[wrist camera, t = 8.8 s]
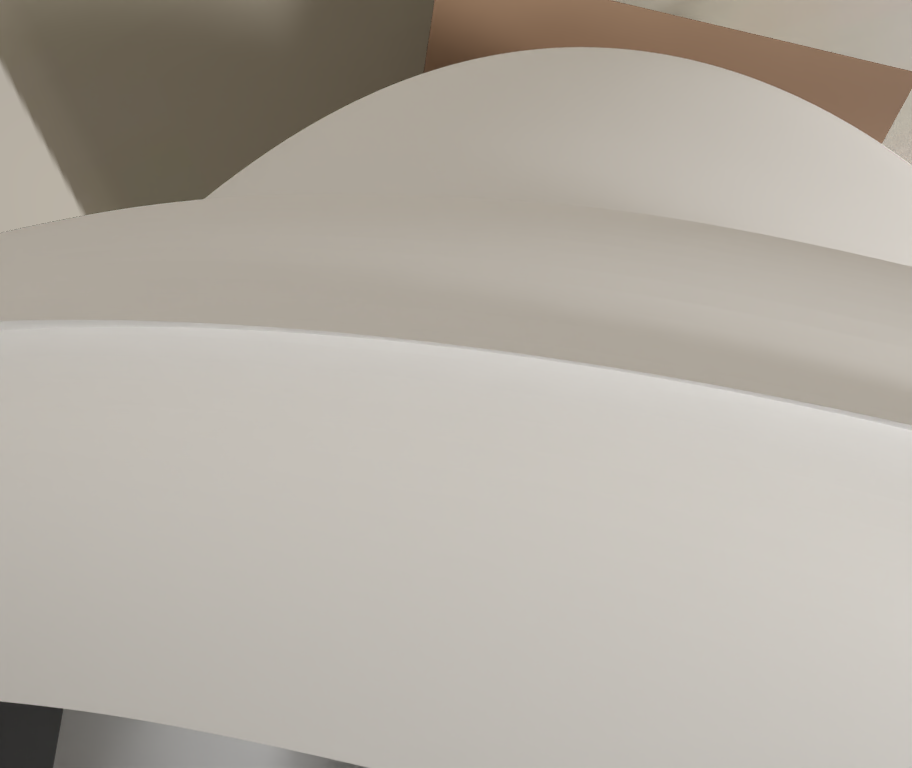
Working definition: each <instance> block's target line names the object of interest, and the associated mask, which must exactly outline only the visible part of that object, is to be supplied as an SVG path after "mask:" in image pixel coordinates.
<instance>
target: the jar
mask: <svg viewBox="0 0 912 768" xmlns="http://www.w3.org/2000/svg"><path fill="white" fill-rule="evenodd" d="M0 701H1V702H11V703H20V704H30V705H38V706H47V707H55V708H63V714H62V720H61V725H60V731H59V737H58V743H57V748H56V754H55V760H54V765H53V768H912V165H911V164H910V163H908V162H907V161H906V160H904V159H903V158H901V157H900V156H899V155H897V154H896V153H894V152H893V151H891V150H890V149H888V148H887V147H885V146H884V145H882V144H881V143H879V142H878V141H876V140H875V139H873V138H872V137H870V136H869V135H867V134H865V133H864V132H862V131H861V130H859V129H857V128H856V127H854V126H852V125H851V124H849V123H847V122H845V121H844V120H842V119H840V118H838V117H836V116H835V115H833V114H831V113H829V112H827V111H825V110H823V109H822V108H820V107H818V106H816V105H814V104H812V103H810V102H808V101H806V100H803V99H801V98H799V97H797V96H795V95H793V94H791V93H788V92H786V91H784V90H781V89H779V88H777V87H774V86H772V85H769V84H767V83H764V82H762V81H759V80H756V79H754V78H751V77H748V76H745V75H742V74H739V73H736V72H733V71H730V70H727V69H724V68H720V67H717V66H713V65H710V64H706V63H702V62H698V61H694V60H690V59H685V58H680V57H675V56H670V55H665V54H659V53H652V52H645V51H637V50H628V49H616V48H598V47H565V48H546V49H535V50H525V51H517V52H510V53H504V54H498V55H492V56H487V57H482V58H477V59H473V60H469V61H464V62H460V63H457V64H453V65H449V66H446V67H442V68H439V69H436V70H432V71H429V72H426V73H423V74H420V75H417V76H414V77H411V78H409V79H406V80H403V81H401V82H398V83H396V84H393V85H391V86H388V87H386V88H383V89H381V90H379V91H376V92H374V93H372V94H370V95H367V96H365V97H363V98H361V99H359V100H357V101H355V102H352V103H350V104H348V105H346V106H344V107H343V108H341V109H339V110H337V111H335V112H333V113H331V114H329V115H327V116H326V117H324V118H322V119H320V120H318V121H317V122H315V123H313V124H311V125H310V126H308V127H306V128H305V129H303V130H301V131H300V132H298V133H296V134H295V135H293V136H291V137H290V138H288V139H287V140H285V141H284V142H282V143H280V144H279V145H277V146H276V147H274V148H273V149H271V150H270V151H268V152H267V153H265V154H264V155H262V156H261V157H259V158H258V159H257V160H255V161H254V162H252V163H251V164H250V165H248V166H247V167H245V168H244V169H243V170H241V171H240V172H238V173H237V174H236V175H234V176H233V177H232V178H230V179H229V180H228V181H226V182H225V183H224V184H222V185H221V186H220V187H218V188H217V189H216V190H215V191H213V192H212V193H211V194H210V195H208V196H207V197H206V198H204V199H201V200H190V201H181V202H172V203H163V204H155V205H147V206H139V207H132V208H126V209H119V210H113V211H107V212H101V213H95V214H90V215H84V216H79V217H73V218H69V219H63V220H59V221H53V222H48V223H43V224H39V225H34V226H29V227H24V228H20V229H15V230H11V231H6V232H2V233H0Z"/></svg>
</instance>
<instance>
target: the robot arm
mask: <svg viewBox="0 0 912 768" xmlns="http://www.w3.org/2000/svg"><path fill="white" fill-rule="evenodd" d="M62 714H63V708H55V707H47V706H38V705H30V704H20V703H11V702H1V701H0V768H53V765H54V760H55V754H56V748H57V743H58V737H59V731H60V725H61V720H62Z"/></svg>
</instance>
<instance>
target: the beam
mask: <svg viewBox="0 0 912 768" xmlns="http://www.w3.org/2000/svg"><path fill="white" fill-rule="evenodd" d="M565 47H598V48H616V49H628V50H637V51H645V52H652V53H659V54H665V55H670V56H675V57H680V58H685V59H690V60H694V61H698V62H702V63H706V64H710V65H713V66H717V67H720V68H724V69H727V70H730V71H733V72H736V73H739V74H742V75H745V76H748V77H751V78H754V79H756V80H759V81H762V82H764V83H767V84H769V85H772V86H774V87H777V88H779V89H781V90H784V91H786V92H788V93H791V94H793V95H795V96H797V97H799V98H801V99H803V100H806V101H808V102H810V103H812V104H814V105H816V106H818V107H820V108H822V109H823V110H825V111H827V112H829V113H831V114H833V115H835V116H836V117H838V118H840V119H842V120H844V121H845V122H847V123H849V124H851V125H852V126H854V127H856V128H857V129H859V130H861V131H862V132H864V133H865V134H867V135H869V136H870V137H872V138H873V139H875V140H876V141H878V142H879V143H881V144H882V142H883V140H884V139H885V137H886V135H887V133H888V131H889V129H890V128H891V126H892V124H893V122H894V120H895V118H896V117H897V115H898V113H899V111H900V109H901V107H902V106H903V104H904V102H905V100H906V98H907V97H908V95H909V93H910V91H911V89H912V71H908V70H904V69H900V68H895V67H891V66H887V65H883V64H878V63H874V62H870V61H866V60H862V59H857V58H853V57H849V56H845V55H840V54H836V53H832V52H828V51H823V50H819V49H815V48H811V47H806V46H802V45H798V44H794V43H789V42H785V41H781V40H777V39H773V38H768V37H764V36H760V35H756V34H751V33H747V32H743V31H739V30H734V29H730V28H726V27H722V26H717V25H713V24H709V23H705V22H700V21H696V20H692V19H688V18H684V17H679V16H675V15H671V14H667V13H662V12H658V11H654V10H650V9H645V8H641V7H637V6H633V5H628V4H624V3H620V2H616V1H611V0H435V1H434V8H433V14H432V21H431V27H430V34H429V40H428V47H427V53H426V60H425V67H424V73H426V72H429V71H432V70H436V69H439V68H442V67H446V66H449V65H453V64H457V63H460V62H464V61H469V60H473V59H477V58H482V57H487V56H492V55H498V54H504V53H510V52H517V51H525V50H535V49H546V48H565Z"/></svg>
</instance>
